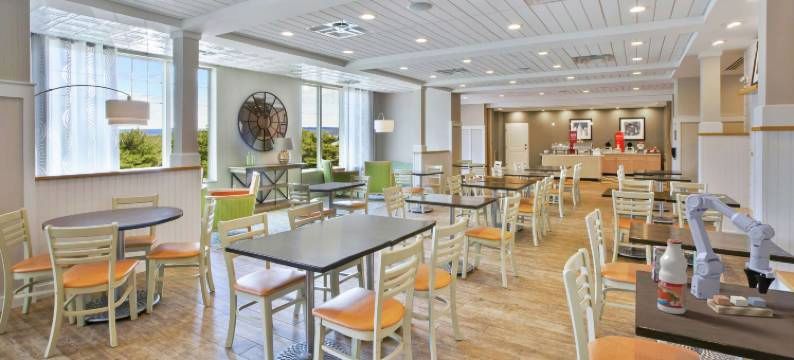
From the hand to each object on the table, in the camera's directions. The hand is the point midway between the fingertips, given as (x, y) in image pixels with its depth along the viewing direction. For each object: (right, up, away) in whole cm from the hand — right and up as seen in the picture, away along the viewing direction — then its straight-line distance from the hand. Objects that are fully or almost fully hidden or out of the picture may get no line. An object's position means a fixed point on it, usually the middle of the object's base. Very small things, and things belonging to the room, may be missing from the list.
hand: (757, 290), depth 168 cm
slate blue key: (0, -6, +1) cm, 6 cm away
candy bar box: (-12, -5, +37) cm, 40 cm away
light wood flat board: (-6, -8, +2) cm, 10 cm away
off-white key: (-6, -6, +2) cm, 8 cm away
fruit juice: (-31, -9, +4) cm, 32 cm away
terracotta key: (-12, -6, +3) cm, 13 cm away
